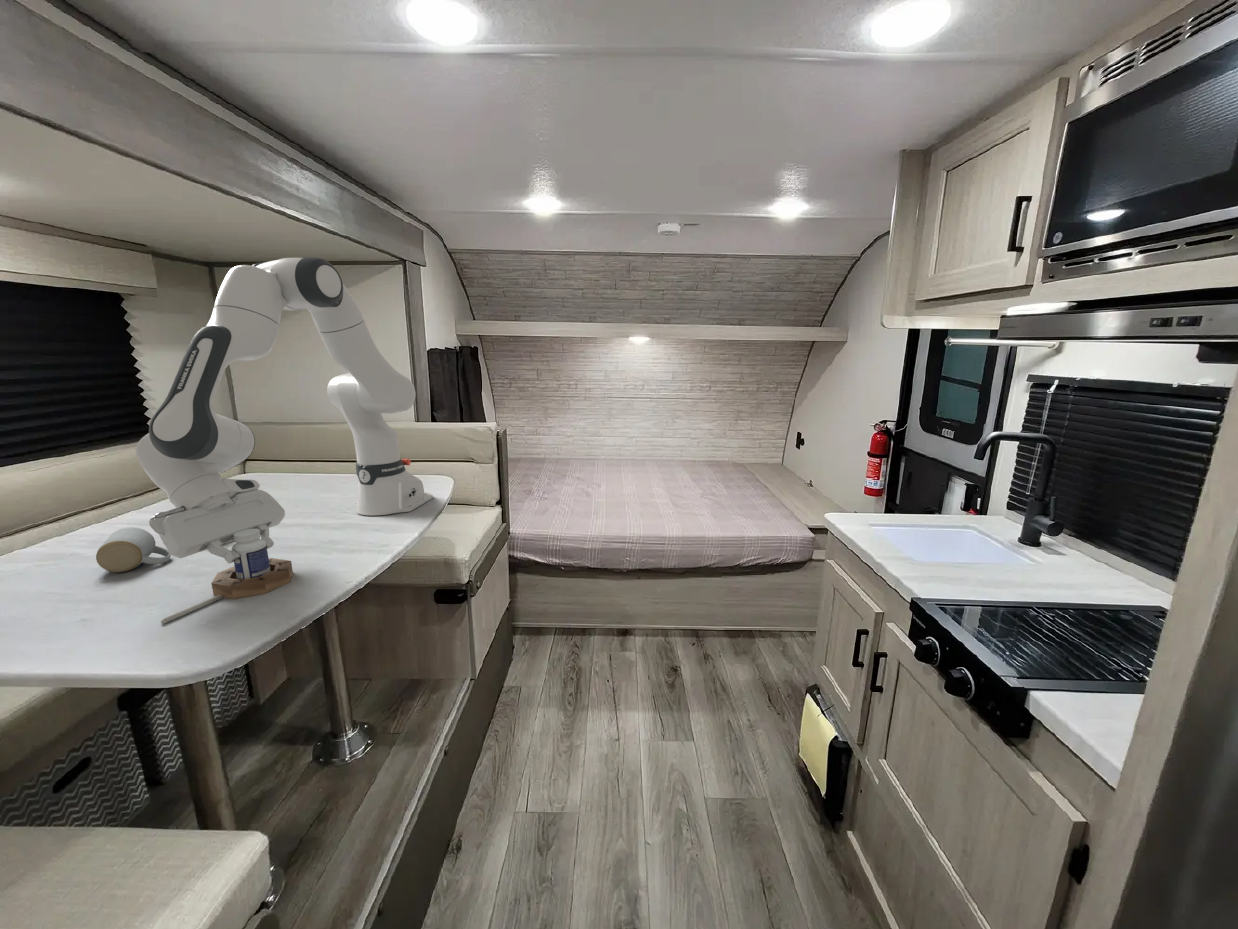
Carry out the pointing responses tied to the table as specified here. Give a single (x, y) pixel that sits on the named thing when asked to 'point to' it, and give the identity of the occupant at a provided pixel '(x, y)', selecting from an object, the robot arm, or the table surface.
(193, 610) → the grey rod
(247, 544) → the pill bottle
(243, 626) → the table surface
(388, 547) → the table surface
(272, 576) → the walnut ring
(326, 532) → the table surface
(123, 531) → the ceramic mug
